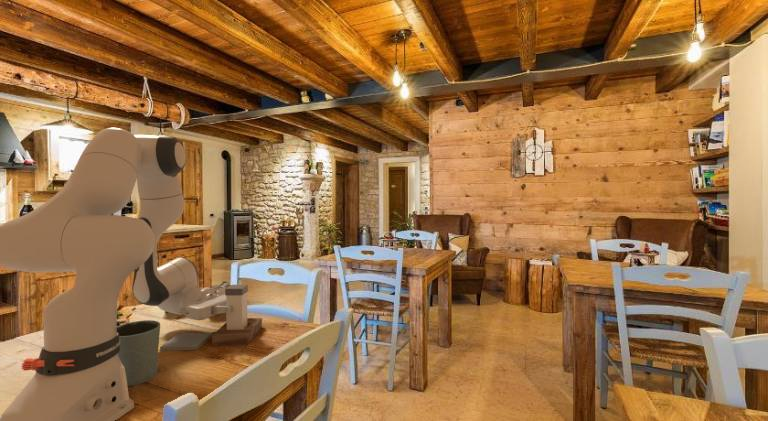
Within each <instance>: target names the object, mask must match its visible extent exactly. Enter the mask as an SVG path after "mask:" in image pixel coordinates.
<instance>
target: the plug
mask: <svg viewBox="0 0 768 421" xmlns="http://www.w3.org/2000/svg"><path fill="white" fill-rule="evenodd" d="M248 292H249V285H248V284H230V286H229V287H227V288H226V289H225V296H226V306H233V312H230V313H225V314H226V322H227V330H240V329H246V328H247V318H248V305H247V300H248Z"/></svg>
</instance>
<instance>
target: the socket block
mask: <svg viewBox="0 0 768 421" xmlns="http://www.w3.org/2000/svg"><path fill="white" fill-rule="evenodd" d="M262 328H263V318H262V317H249V318H248V317H247V328H246V329H240V330H227V321H226V322H225V323H223V325H222V326H220V327H219V328H218V330H216V331H215V332H214V333H212V337H211V339H212V346H242V345H243V346H244V345H245V346H246V345H247V346H248V345H249V344H250V342H251V341H252V340H253V339H254V338H255V337H256V335H257V334H258V333H259V332H260V330H261V329H262Z"/></svg>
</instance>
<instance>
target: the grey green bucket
mask: <svg viewBox="0 0 768 421" xmlns="http://www.w3.org/2000/svg"><path fill="white" fill-rule="evenodd" d="M117 332H118V333H119V339H120V351H119V352H118V355H119V358H120V361H121V362H122V364H123V366H124V368H125V373H126V379H127V387H132V386H136V385H140V384H143V383H146V382H148V381H151V380H152V379H154V378H155V377H156V376H157V374H158V371H159V358H158V357H159V344H160V333H161V322H159V321H158V320H152V319H151V320H147V319H146V320H136V321H130V322H126V323H122V324H120V325H117Z"/></svg>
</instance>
